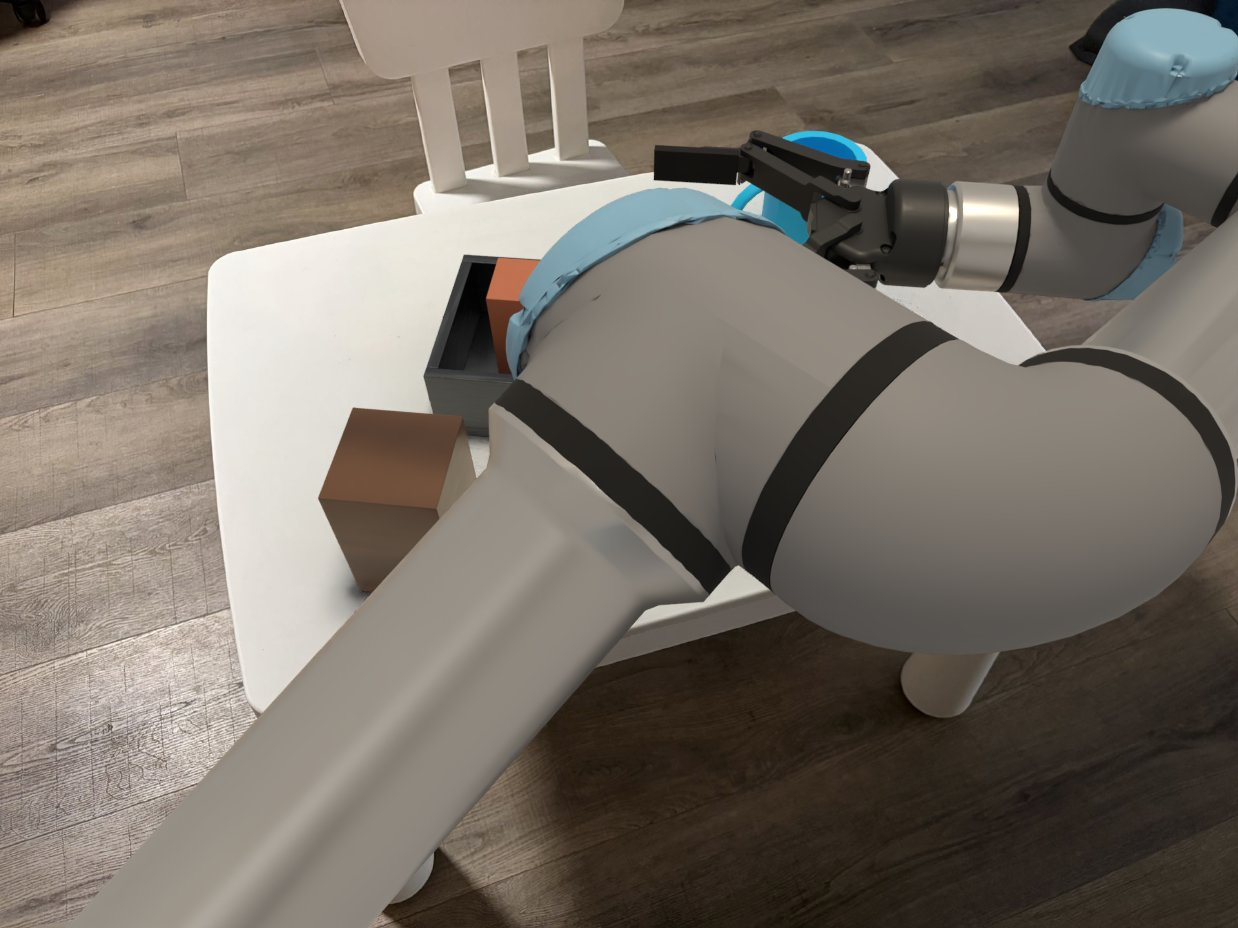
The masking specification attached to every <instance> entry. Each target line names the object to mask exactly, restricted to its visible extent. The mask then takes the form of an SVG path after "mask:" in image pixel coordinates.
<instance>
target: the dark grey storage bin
mask: <svg viewBox="0 0 1238 928" xmlns="http://www.w3.org/2000/svg"><path fill="white" fill-rule="evenodd" d="M498 258H509V259H525V260H541V259H539V258H525V257H509V256H493V255H479V254H463V256H462V258H461V262H460V265H459V268H458V271H457V275H456V277H455V280H454V283H453V286H452V289H451V291H450V295H449V298H448V301H447V304H446V307H445V309H444V313H443V315H442V319H441V321H440V325H439V328H438V331H437V333H436V337H435V340H434V343H433V346H432V349H431V352H430V355H429V358H428V362H427V364H426V368H425V369H424V372H423V381H424V385H425V387H426V388H425V389H426V392H427V396H428V399H429V404H430V408H431V411H432V414H440V415H452V416H462V417H463V420H464V424H465V429H466V433H467V436H468V435H469V436H481V437H489V408H490V407H491V406H492V405H493V403H494V402H495V401H496V400H497V399H498V398H499V397H500V396H501V395H502V394H503V393H504V391H505V390H506V389H507V388H508V387H509V386H510V385H511V384H512V383H513V382H514V379H513V376H512V374H503V373H499V372H498V366H497V360H496V354H495V348H494V343H493V337H492V331H491V325H490V319H489V313H488V307H487V301H486V297H487V294H488V290H489V287H490V284H491V280H492V277H493V273H494V270H495V267H496V263H497V260H498Z"/></svg>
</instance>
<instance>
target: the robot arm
mask: <svg viewBox="0 0 1238 928" xmlns="http://www.w3.org/2000/svg"><path fill="white" fill-rule="evenodd" d="M1237 76H1238V35H1237V34H1236V32H1234V30H1232V29H1231V28H1226V27H1223V26H1222V24H1221V23H1220V21H1219V19H1215V18H1213V17H1212V16H1209V15H1207V14H1203V13H1200V12H1197V11H1192V10H1186V9H1181V8H1169V7H1168V8H1167V7H1166V8H1163V7H1162V8H1152V9H1145V10H1141V11H1138V12H1137V11H1136V12H1134V13H1133V14H1130V15H1128V16H1126V17H1125V18H1123V19H1121V20H1120V21H1118V22H1117V23H1116V24H1115V25H1114V26H1113V27H1111V29H1110V30H1109V32H1108V33H1107V35H1106V37H1105V39H1104V40H1103V43H1102V45H1101V47H1100V49H1099V52H1098V53H1097V55H1096V58H1095V59H1094V62H1093V64H1092V66H1091V68H1090V71H1089V72H1088V74H1087V76H1086V79H1085V80H1084V81H1082V82H1081V84H1080V87H1079V88H1078V96H1077V98H1076V101H1075V104H1074V106H1073V109H1072V111H1071V114H1070V117H1069V119H1068V122H1067V124H1066V127H1065V130H1064V132H1063V135H1062V138H1061V140H1060V142H1059V145H1058V148H1057V150H1056V153H1055V156H1054V159H1053V161H1052V164H1051V167H1050V169H1049V172H1048V173H1047V175H1046V178H1045V180H1044V182H1043V184H1042V185H1018V184H1017V185H1016V184H1003V183H991V182H977V181H976V182H973V181H963V180H955V181H954V182H952V183H951V184H950V185H949V186H947V187H946V185H945V184H944V183H942V181H941V180H929V179H916V178H915V179H914V178H913V179H912V178H896V179H894V180H892V181H891V182H890V183H889V185H888V186H887V187H886V188H885V189H883V190H880V191H879V190H874V189H869V188H868V187H867V184H868V179H869V177H870V176H869V175H870V172H871V164H870V163H869V162H868V161H867V162H865V161H859V160H851V159H843V158H839V157H836V156H833V155H830V154H827V153H824V152H821V151H818V150H815V149H812V148H810V147H807V146H804V145H801V144H798V143H795V142H792V141H789V140H786V139H783V137H780V136H777V135H774V134H771V133H768V132H766V131H763V130H758V129H757V130H755V129H754V130H751V132H750V133H749V135H748V140H747V142H746V143H742V144H741V145H740V147H727V146H710V145H709V146H708V145H704V146H698V147H697V146H683V145H682V146H681V145H665V144H654V150H653V152H654V153H653V181H659V182H671V183H672V182H675V183H689V184H690V183H691V184H707V185H722V186H723V185H724V186H736V185H738V186H741V185H742V184H744V183H748V184H752V185H754V186H756V187H758V188H759V189H761V190H763V191H762V192H763V193H765V192H766V193H768V194H770V195H771V196H773V197H775V198H776V199H778V200H780V201H782V202H783V203H785V204H787V205H788V206H790V207H792V208H794V209H795V210H797V211H799V212H800V214H801V216H802V218H803V220H804V221H806V222H807V233H808V235H809V238H808V239H807V241H806V242H805V243H804V244H802V245H801V244H799V243H797V242H796V241H794V240H792V239H791V238H789V237H788V236H787V234H786V233H785V231H784V230H783V229H781V228H780V227H779V226H777V225H776V224H775V223H773V222H772V221H770V220H768V219H766V218H764V217H762V215H759V214H757V213H753V212H751V211H745V210H738V209H736V208H734V207H732V206H731V204H728V203H726V202H724V201H722V200H720V199H719V198H717V197H715V196H713V195H710V194H708V193H706V192H703V191H701V190H696V189H693V188H688V187H674V188H665V187H656V188H647V189H644V190H643V189H642V190H640V191H636V192H632V193H630V194H626V195H624V196H621V197H619V198H616V199H614V200H613V201H610V202H609V203H606V204H605V205H603V206H601V207H600V208H598V209H595V211H593V212H591V213H590V214H589V215H588V216H586V217H585V218H583V219H582V220H580V221H579V222H578V223H576V224H575V225H574V226H572V227H571V228H570V229H569V230H568V231H566V232H565V233H564V234H563V235H562V236H561V237H560V238H559V239H558V240H557V241H556V242H555V243H554V244H553V245H552V246H551V247H550V248H549V249H548V251H547V252H546V253H545V254H544V255H543V256H542V258H541V259H540V262H539V263H538V264H537V266H536V267H535V269H534V270H533V271H532V273H531V274H530V276H529V277H528V279H527V281H526V283H525V284H524V286H523V288H522V290H521V293H520V296H519V301H520V303H521V304H522V305H523V307H524V308H523V309H522V310H521V311H520V312H518V313H516V314H514V315H512V316H511V317H510V320H509V324H508V329H507V336H506V354H507V361H508V364H509V368H510V370H511V372H512V376H513V379H514V382H513V383H512V384H511V385H510V386H509V387H508V388H507V389H506V390H505V391H504V393H503V394H502V395H501V396H500V397H499V398H498V399H497V400H496V401H495V402H494V403H493V405H492V406H491V407H490V408H489V436H488V441H489V443H488V445H489V447H488V448H489V454H488V459H487V463H486V467H485V468H484V469H483V470H482V472H481V473H480V474H479V475H478V476H476V480H475V481H474V482H473V483H472V484H471V485H470V486H469V487H468V488H467V489H466V491H465V492H464V493H463V494H462V495H461V496H460V497H459V498H458V499H457V500H456V501H455V503H454V504H453V505H452V506H451V507H450V508H449V509H448V510H447V511H446V512H445V514H444V515H443V516H442V517H441V518H440V519H439V520H438V521H437V522H436V523H435V524H434V526H433V527H432V528H431V529H430V530H429V531H428V532H427V533H426V534H425V535H424V537H423V538H422V539H421V540H420V541H419V542H418V543H417V544H416V545H415V546H414V547H413V549H412V550H411V551H410V552H409V553H408V554H407V555H406V556H405V557H404V558H403V560H402V561H401V562H400V563H399V564H398V565H397V566H396V567H395V568H394V569H393V570H392V572H391V573H390V574H389V575H388V576H387V577H386V578H385V579H384V580H383V581H382V583H381V584H380V585H379V586H378V587H377V588H376V589H375V590H374V591H373V592H370V595H369V596H368V597H367V598H366V599H364V601H363V602H362V603H361V604H360V605H359V606H358V608H356V609H355V611H354V612H353V613H352V614H351V615H350V616H349V618H347V620H346V621H345V622H344V623H343V624H342V625H341V626H340V627H339V628H338V629H337V631H335V633H334V634H333V635H332V636H331V637H330V638H329V639H328V641H326V642H325V644H324V645H323V646H321V648H320V649H319V650H318V651H317V652H316V653H315V655H313V657H312V658H311V659H310V660H309V661H308V662H307V663H306V664H305V666H304V667H303V668H302V669H301V670H299V672H298V673H297V674H296V675H295V676H294V677H293V679H292V680H291V681H290V682H289V683H288V684H287V686H285V687H284V688H283V689H282V691H281V692H280V693H279V694H278V695H277V696H276V697H275V698H274V700H273V701H271V703H270V704H269V705H268V706H267V707H266V708H265V709H264V710H263V712H262V713H261V714H260V715H259V716H258V717H257V718H256V719H255V720H254V721H253V723H251V724H250V726H249V727H248V728H247V729H245V731H244V733H242V735H241V736H240V737H239V738H238V739H237V740H236V741H235V742H234V744H233V745H231V747H230V748H229V749H228V750H227V751H226V752H225V753H224V754H223V755H222V757H220V759H219V760H218V761H217V762H216V763H215V764H214V765H213V766H212V768H210V770H209V771H208V772H207V773H206V774H205V775H204V776H203V777H202V778H201V780H199V782H198V783H196V785H195V786H194V787H193V788H192V789H191V790H190V792H189V793H188V794H187V795H186V796H185V797H184V798H183V799H182V800H181V801H180V802H179V804H177V806H176V807H175V808H174V809H173V810H172V811H171V812H170V813H169V814H168V816H167V817H166V818H165V819H164V820H163V821H162V822H161V824H159V826H157V828H155V830H154V831H153V832H152V833H151V834H150V835H149V836H148V838H147V839H145V841H144V842H143V843H142V844H141V845H140V846H139V847H138V849H136V851H135V852H134V853H133V854H132V855H131V856H130V857H129V858H128V859H127V861H125V863H124V864H122V866H121V867H120V868H119V870H117V872H115V874H114V875H113V876H112V877H111V878H110V879H109V880H108V882H107V883H106V884H104V886H103V887H101V889H100V890H99V891H98V892H97V894H95V896H94V897H93V898H92V899H91V900H90V901H89V902H88V903H87V904H86V905H85V906H84V907H83V909H82V910H81V911H80V912H79V913H78V914H77V915H76V917H75V918H74V919H72V921H71V922H52V923H45V924H38V925H34V926H31V927H29V928H369V927H370V926H371V925H372V924H373V922H375V920H376V919H377V918H378V917H379V916H380V914H381V913H382V912H383V911H384V910H385V909H386V907H388V905H389V904H390V903H391V902H392V901H393V899H395V897H396V896H397V895H398V894H399V893H400V892H401V891H402V889H404V887H405V886H406V885H407V884H408V883H409V881H410V880H411V879H412V878H414V876H415V874H417V872H418V871H419V870H420V869H421V868H422V866H423V865H424V864H425V863H426V862H427V861H428V860H429V859H430V857H431V856H432V855H433V854H434V853H435V852H436V851H437V850H438V848H439V847H440V846H441V845H442V844H443V843H444V841H445V840H446V839H447V838H448V837H449V836H450V835H451V833H453V831H454V830H455V829H456V828H457V826H458V825H459V824H460V823H461V822H462V821H463V819H465V817H466V816H467V815H469V813H470V812H471V811H472V810H473V808H474V807H475V806H476V805H477V804H478V803H479V802H480V800H481V799H482V798H483V797H484V796H485V794H486V793H487V792H488V791H489V790H490V789H491V788H492V786H493V785H494V784H495V783H496V782H497V781H498V780H499V779H500V778H501V777H502V775H503V774H504V773H505V772H506V770H507V769H509V767H511V765H512V764H513V763H514V761H515V760H516V759H517V758H518V757H519V755H520V754H522V752H523V751H524V750H525V749H526V748H527V747H528V745H529V744H530V743H531V742H532V741H533V740H534V739H535V737H537V735H538V734H539V733H540V732H541V730H542V729H543V728H544V727H545V726H546V725H547V724H548V723H549V721H550V720H551V719H552V718H553V717H554V716H555V715H556V714H557V713H558V712H559V710H560V709H561V708H562V707H563V706H564V704H565V703H566V702H567V701H568V700H569V699H570V697H571V696H573V694H574V693H575V692H576V691H577V690H578V688H579V687H580V686H581V685H582V684H583V683H584V682H585V680H586V679H587V678H588V677H589V676H590V675H591V673H592V672H593V671H594V670H595V669H596V668H597V667H598V666H599V664H601V662H602V661H603V660H604V659H605V658H606V656H607V655H608V654H609V653H610V652H611V651H612V650H613V648H614V647H615V646H616V645H617V644H618V643H619V641H620V640H622V638H624V636H625V634H626V633H628V631H629V630H630V629H631V628H632V626H633V625H634V624H635V623H636V622H637V621H638V620H639V619H640V617H642V615H643V614H644V613H645V612H646V611H648V610H651V609H653V608H656V607H658V606H669V605H670V606H671V605H683V604H697V603H705V601H707V599H708V598H709V597H710V596H711V594H712V593H713V592H714V591H715V589H717V587H718V586H720V584H721V583H722V582H723V580H725V578H726V577H727V576H728V575H729V574H730V573H731V572H732V571H733V570H734V569H735V568H736V567H740V569H742V570H744V571H745V572H746V573H747V574H749V575H751V576H752V577H753V578H754V579H756V580H757V581H758V583H760V584H762V585H763V586H764V587H765V588H767V589H768V590H769V591H770V592H771V593H773V594H774V595H775V596H777V597H778V598H779V599H780V600H781V601H782V602H783V603H784V604H786V605H787V606H788V607H790V608H791V609H793V610H794V611H795V612H797V613H798V614H800V615H801V616H803V617H804V618H805V619H807V621H809V622H812V623H814V624H815V625H817V626H819V627H821V628H823V629H825V630H827V631H829V632H832V633H834V634H836V635H839V636H841V637H845V638H848V639H851V640H854V641H858V642H860V643H864V644H867V645H869V646H874V647H877V648H882V649H889V650H893V651H898V652H905V653H911V654H923V655H932V656H933V655H935V656H971V655H984V654H985V655H986V654H996V653H1001V652H1006V651H1007V652H1008V651H1014V650H1021V649H1026V648H1032V647H1036V646H1039V645H1044V644H1047V643H1051V642H1055V641H1059V640H1063V639H1067V638H1071V637H1074V636H1076V635H1079V634H1081V633H1083V632H1086V631H1089V630H1091V629H1094V628H1096V627H1098V626H1101V625H1104V624H1106V623H1108V622H1111V621H1114V620H1116V619H1118V618H1121V617H1122V616H1124V615H1126V614H1128V613H1130V612H1131V611H1133V610H1134V609H1136V608H1138V607H1140V606H1141V605H1143V604H1145V603H1147V602H1148V601H1150V600H1151V599H1153V598H1155V597H1157V596H1158V595H1159V594H1160V593H1162V592H1163V591H1164V590H1165V589H1167V588H1168V587H1169V586H1170V585H1172V584H1173V583H1175V581H1177V580H1178V579H1179V578H1180V577H1181V576H1182V575H1183V574H1184V573H1185V571H1187V570H1188V568H1190V567H1191V566H1192V564H1194V562H1195V561H1196V560H1197V559H1198V558H1199V557H1200V556H1201V555H1202V554H1203V552H1204V551H1205V550H1206V548H1207V547H1208V546H1209V544H1211V542H1212V541H1213V540H1214V538H1215V537H1216V536H1217V534H1218V532H1219V531H1220V530H1221V529H1222V527H1223V526H1224V524H1225V523H1226V521H1227V520H1228V518H1229V516H1230V514H1231V512H1232V510H1233V508H1234V507H1233V506H1234V504H1235V502H1236V500H1237V499H1236V498H1237V493H1238V461H1237V460H1238V80H1236V77H1237ZM764 148H765V149H766V150H764ZM837 176H839V177H837ZM822 196H824V197H823V198H822ZM1183 213H1185V214H1186V215H1188V216H1191V217H1193V218H1196V219H1198V220H1200V221H1202V222H1203V223H1206V224H1209V225H1210V226H1212V227H1214V228H1215V229H1214V230H1213V231H1212V232H1211V233H1210V234H1208V235H1207V236H1206V237H1205V238H1204V239H1202V240H1201V241H1200V242H1199V243H1198V244H1197V245H1196V246H1195V247H1193V248H1192V249H1191V250H1190V251H1189V252H1187V253H1186V254H1185V255H1184V256H1182V257H1181V258H1180V259H1179V260H1178V261H1177V256H1178V253H1179V251H1180V250H1181V249H1182V247H1183V242H1184V241H1183V240H1184V229H1185V228H1184V217H1183ZM933 282H934V283H935V284H936V286H937V287H938V288H939V289H944V290H956V291H957V290H958V291H959V290H960V291H976V292H987V293H988V292H991V293H999V294H1003V293H1004V294H1014V295H1015V294H1016V295H1026V296H1038V297H1050V298H1062V299H1073V300H1082V301H1084V302H1100V301H1130V302H1129V303H1128V304H1126V306H1124V307H1123V308H1122V309H1121V310H1120V311H1118V312H1117V313H1116V314H1115V315H1114V316H1113V317H1111V319H1109V320H1107V322H1106V323H1104V324H1103V325H1102V326H1101V327H1100V328H1099V329H1098V330H1096V331H1095V332H1094V333H1093V334H1092V335H1091V336H1089V337H1088V338H1086V340H1085V341H1084V342H1082V343H1080V344H1077V345H1066V346H1060V347H1055V348H1051V349H1048V350H1045V351H1042V352H1039V353H1037V354H1035V355H1033V356H1031V357H1029V358H1027V359H1025V360H1024V361H1022V362H1021V363H1019V364H1013V363H1010V362H1007V361H1006V360H1005V361H1004V360H1002V359H1000V358H998V357H996V356H994V355H991V354H990V353H987V352H985V351H983V350H981V349H979V348H977V347H975V346H973V345H972V344H970V343H969V342H967V341H965V340H963V339H960V338H958V337H956V336H955V335H953V334H951V333H950V332H948V331H946V330H945V329H942V327H939V326H938V325H936V324H935V323H933V322H932V321H931V320H928V319H926V318H925V317H923V316H921V315H920V314H918V313H916V312H914V311H913V310H911V309H909V308H908V307H906V306H905V305H903V304H901V303H899V301H896V300H895V299H893V298H891V297H890V296H887V295H886V294H884V293H883V292H881V291H879V289H877V286H878V283H880V284H881V285H883V286H888V287H889V286H891V287H903V288H905V287H906V288H920V289H926V288H927V287H928V286H930V285H931V284H933Z"/></svg>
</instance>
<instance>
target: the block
mask: <svg viewBox="0 0 1238 928" xmlns="http://www.w3.org/2000/svg"><path fill="white" fill-rule="evenodd" d="M525 259H526V258H525ZM525 259H509V258H498V260H497V263H496V267H495V270H494V273H493V277H492V280H491V284H490V287H489V290H488V294H487V297H486V301H487V307H488V313H489V319H490V325H491V331H492V337H493V343H494V348H495V354H496V360H497V366H498V372H499V373H503V374H512V372H511V370H510V368H509V364H508V361H507V354H506V336H507V329H508V324H509V320H510V317H511V316H512V315H514V314H516V313H518V312H520V311H521V310H522V309H523V308H524V307H523V305H522V304H521V303H520V301H519V296H520V293H521V290H522V288H523V286H524V284H525V283H526V281H527V279H528V277H529V276H530V274H531V273H532V271H533V270H534V269H535V267H536V266H537V264H538V263H539V262H540V260H541V259H540V260H525Z"/></svg>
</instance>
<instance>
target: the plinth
mask: <svg viewBox="0 0 1238 928" xmlns="http://www.w3.org/2000/svg"><path fill="white" fill-rule="evenodd" d="M344 426H345V427H344V428H343V432H342V435H341V437H340V439H339V442H338V444H337V446H336V450H335V452H334V455H333V458H332V460H331V463H330V465H329V468H328V470H327V473H326V476H325V478H324V481H323V484H322V486H321V489H320V491H319V494H318V497H317V500H318V502H319V504H320V507H321V509H322V511H323V513H324V515H325V517H326V519H327V522H328V524H329V526H330V529H331V530H332V533H333V535H334V537H335V539H336V541H337V543H338V545H339V548H340V550H341V552H342V554H343V556H344V559H345V561H346V563H347V564H348V567H349V569H350V571H351V574H352V576H353V578H354V580H355V583H356V585H357V587H358V589H359V591H362V592H370V593H372V592H373V591H374V590H375V589H376V588H377V587H378V586H379V585H380V584H381V583H382V581H383V580H384V579H385V578H386V577H387V576H388V575H389V574H390V573H391V572H392V570H393V569H394V568H395V567H396V566H397V565H398V564H399V563H400V562H401V561H402V560H403V558H404V557H405V556H406V555H407V554H408V553H409V552H410V551H411V550H412V549H413V547H414V546H415V545H416V544H417V543H418V542H419V541H420V540H421V539H422V538H423V537H424V535H425V534H426V533H427V532H428V531H429V530H430V529H431V528H432V527H433V526H434V524H435V523H436V522H437V521H438V520H439V519H440V518H441V517H442V516H443V515H444V514H445V512H446V511H447V510H448V509H449V508H450V507H451V506H452V505H453V504H454V503H455V501H456V500H457V499H458V498H459V497H460V496H461V495H462V494H463V493H464V492H465V491H466V489H467V488H468V487H469V486H470V485H471V484H472V483H473V482H474V481H475V480H476V478H477V475H476V474H477V473H476V471H475V464H474V461H473V456H472V451H471V448H470V442H469V438H468V435H467V433H466V429H465V424H464V420H463V417H462V416H452V415H440V414H433V413H427V412H414V411H401V410H389V409H378V408H377V409H376V408H366V407H365V408H364V407H352V408H351V411H350V413H349V415H348V418H347V421H346V424H345V425H344Z"/></svg>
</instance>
